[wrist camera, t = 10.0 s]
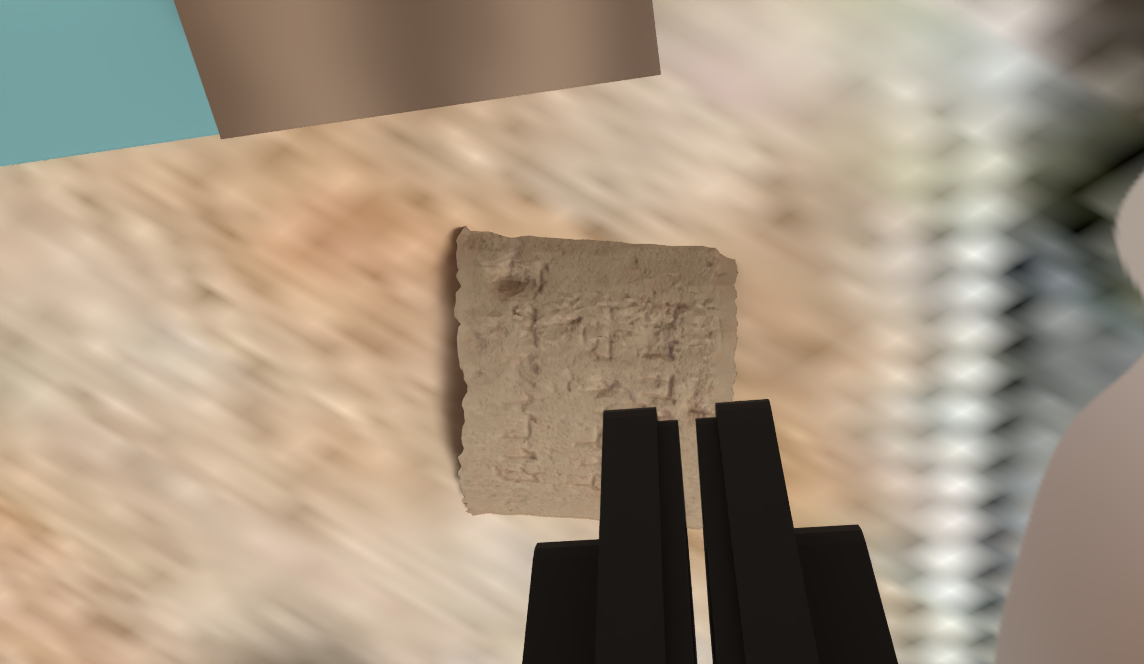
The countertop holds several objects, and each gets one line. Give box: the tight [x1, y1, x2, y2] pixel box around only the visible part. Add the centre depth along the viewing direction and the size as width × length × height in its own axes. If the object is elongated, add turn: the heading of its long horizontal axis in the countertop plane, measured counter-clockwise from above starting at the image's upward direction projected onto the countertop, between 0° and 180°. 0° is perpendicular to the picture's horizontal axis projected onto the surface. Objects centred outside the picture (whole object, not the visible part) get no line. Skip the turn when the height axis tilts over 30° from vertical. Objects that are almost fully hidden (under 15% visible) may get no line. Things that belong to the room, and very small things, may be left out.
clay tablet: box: [454, 227, 738, 529], centre depth 41 cm, size 14×10×3 cm
